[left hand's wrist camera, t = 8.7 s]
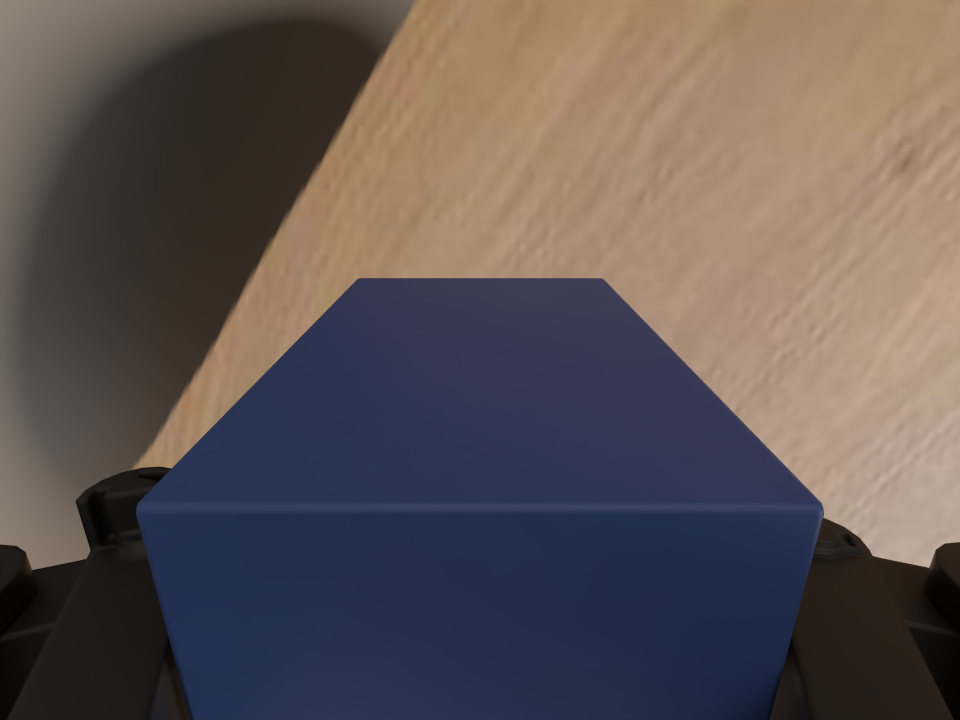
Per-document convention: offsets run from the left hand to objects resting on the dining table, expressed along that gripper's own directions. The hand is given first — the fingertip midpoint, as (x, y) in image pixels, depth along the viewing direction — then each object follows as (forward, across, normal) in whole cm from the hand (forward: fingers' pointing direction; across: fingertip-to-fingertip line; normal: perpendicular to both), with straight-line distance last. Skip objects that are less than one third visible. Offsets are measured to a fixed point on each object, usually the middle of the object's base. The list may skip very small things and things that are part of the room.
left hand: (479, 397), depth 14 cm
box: (+1, 0, -9) cm, 9 cm away
